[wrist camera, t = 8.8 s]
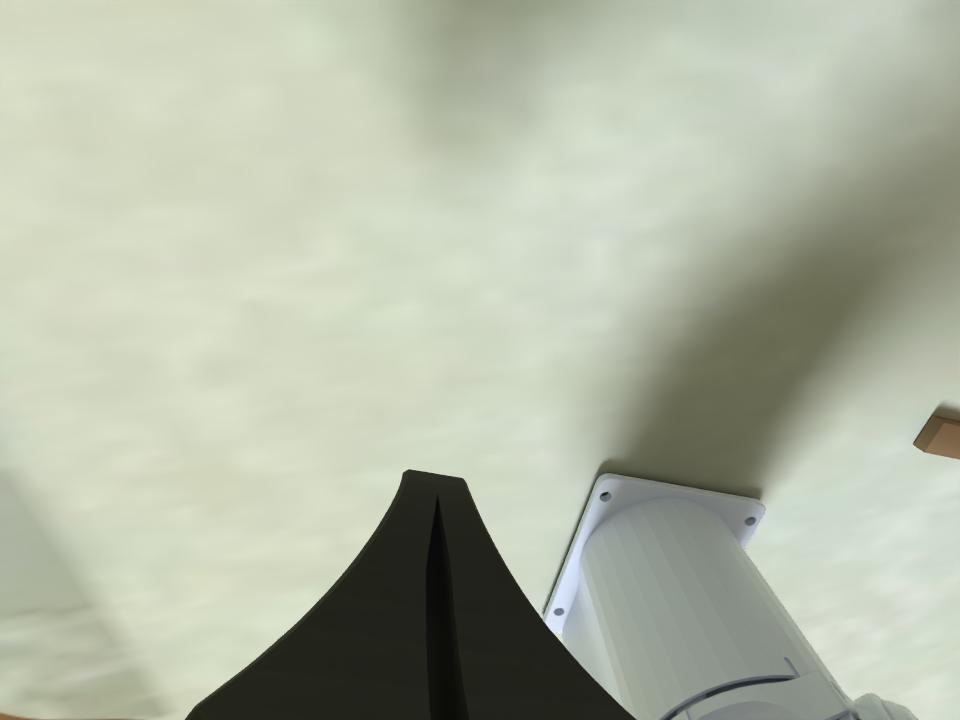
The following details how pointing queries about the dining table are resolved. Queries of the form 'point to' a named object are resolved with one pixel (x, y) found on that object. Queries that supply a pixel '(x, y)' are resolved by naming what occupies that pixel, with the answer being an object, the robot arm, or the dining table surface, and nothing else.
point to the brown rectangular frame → (940, 438)
